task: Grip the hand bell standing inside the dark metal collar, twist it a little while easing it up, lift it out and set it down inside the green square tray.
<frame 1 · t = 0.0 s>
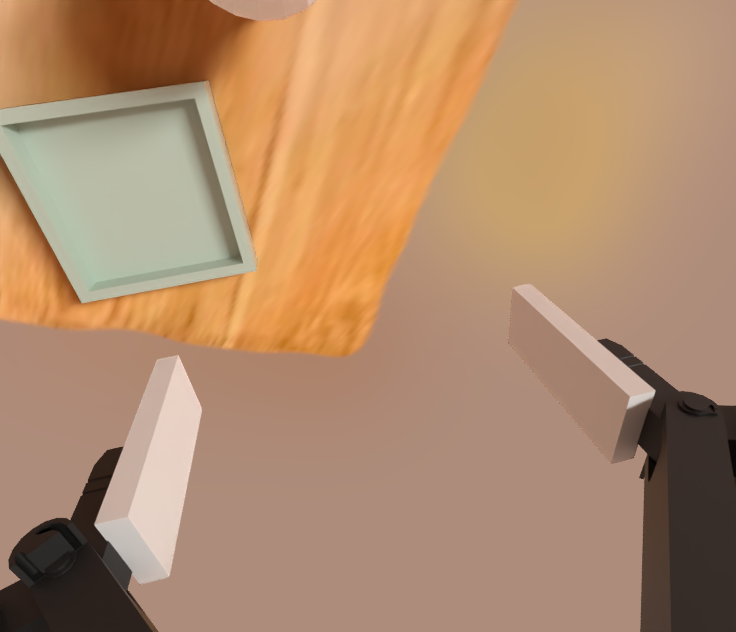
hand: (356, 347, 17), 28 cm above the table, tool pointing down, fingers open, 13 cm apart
green square tray: (145, 193, 38), on the table
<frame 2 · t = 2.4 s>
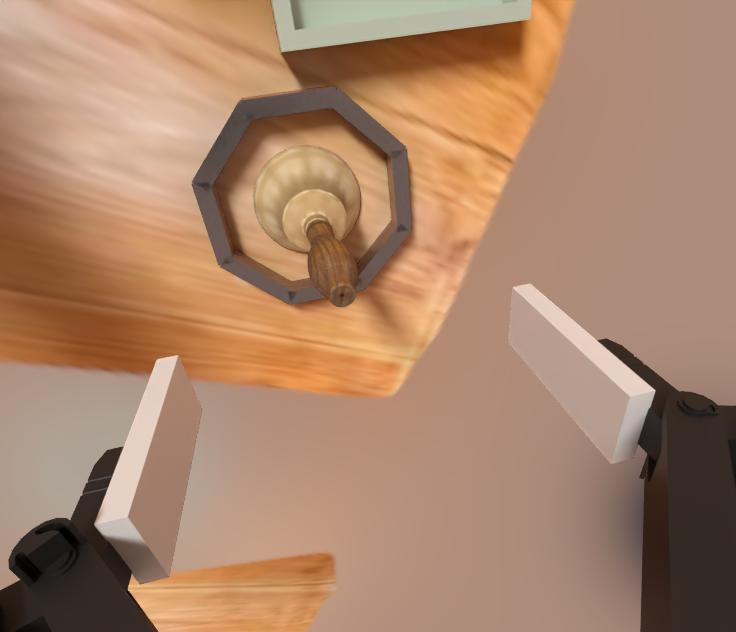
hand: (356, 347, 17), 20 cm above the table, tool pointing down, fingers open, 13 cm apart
collar: (308, 201, 33), on the table
hand bell: (308, 200, 34), resting in collar
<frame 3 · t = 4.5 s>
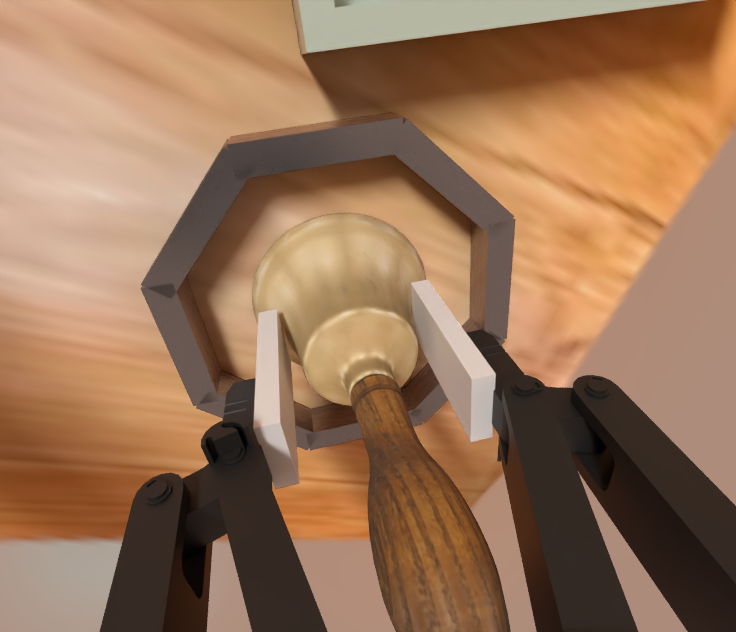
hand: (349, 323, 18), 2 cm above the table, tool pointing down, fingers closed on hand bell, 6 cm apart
collar: (341, 297, 20), on the table
hand bell: (341, 295, 21), resting in collar, touching gripper
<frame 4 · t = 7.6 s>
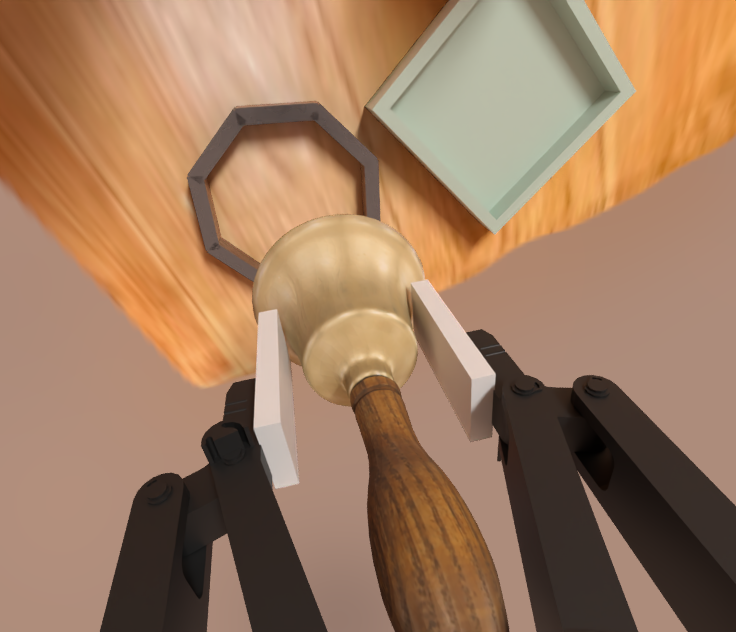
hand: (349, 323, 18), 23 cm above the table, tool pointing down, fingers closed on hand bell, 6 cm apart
green square tray: (493, 97, 37), on the table
collar: (290, 200, 38), on the table
hand bell: (341, 296, 21), point 20 cm above the table, touching gripper
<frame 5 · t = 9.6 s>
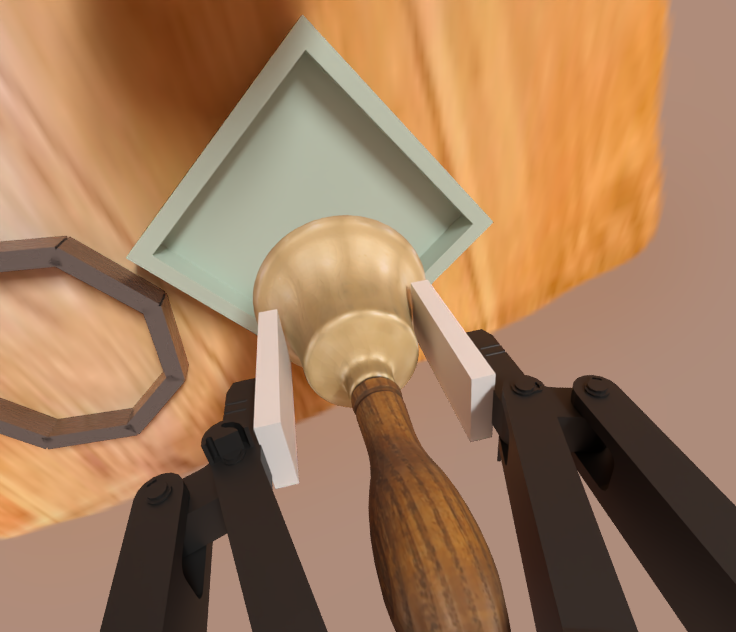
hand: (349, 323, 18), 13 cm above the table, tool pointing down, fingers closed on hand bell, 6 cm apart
green square tray: (317, 222, 29), on the table
collar: (61, 345, 30), on the table
hand bell: (341, 297, 21), point 10 cm above the table, touching gripper
when the fingers open (5 cm above the table, at t = 11.1 s): hand bell drops 1 cm, resting on green square tray.
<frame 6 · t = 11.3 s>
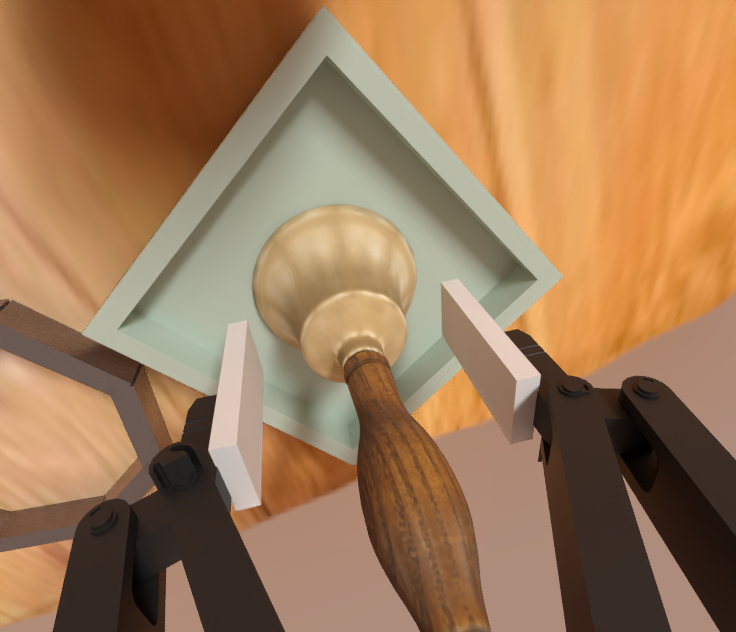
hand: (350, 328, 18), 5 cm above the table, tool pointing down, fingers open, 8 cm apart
green square tray: (335, 275, 22), on the table
collar: (10, 429, 23), on the table
hand bell: (336, 283, 22), point 1 cm above the table, touching green square tray
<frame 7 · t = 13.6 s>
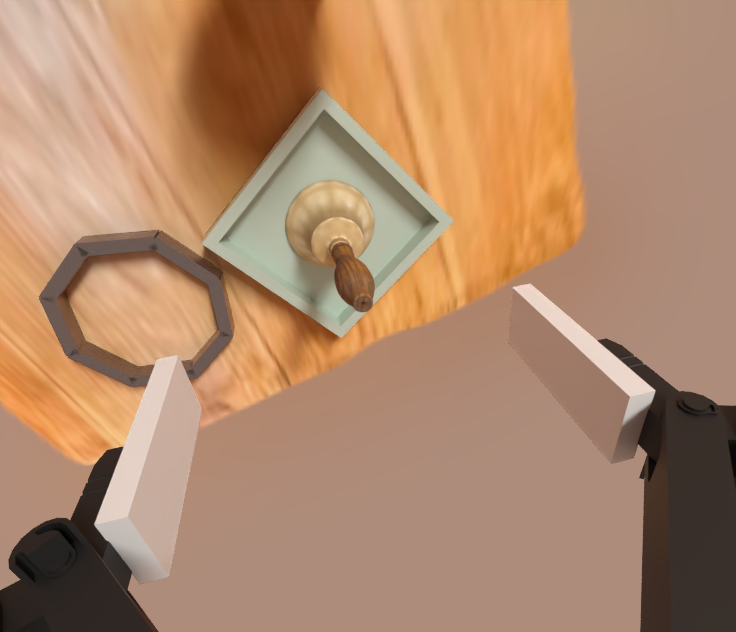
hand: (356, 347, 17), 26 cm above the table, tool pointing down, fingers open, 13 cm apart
green square tray: (329, 221, 41), on the table
collar: (147, 309, 42), on the table
hand bell: (330, 224, 40), point 1 cm above the table, touching green square tray
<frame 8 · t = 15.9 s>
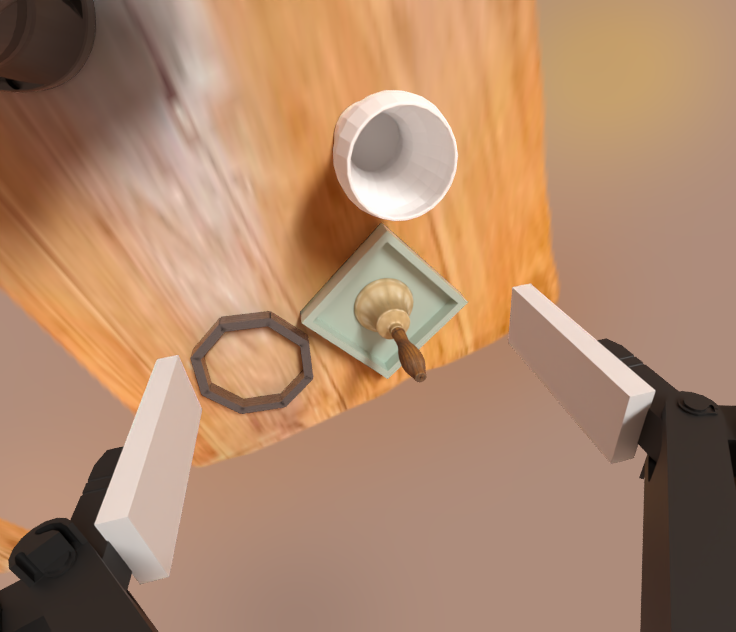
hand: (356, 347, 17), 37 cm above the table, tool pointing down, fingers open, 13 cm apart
cup: (367, 137, 48), on the table
green square tray: (382, 301, 59), on the table
collar: (255, 361, 60), on the table
hand bell: (383, 304, 58), point 1 cm above the table, touching green square tray
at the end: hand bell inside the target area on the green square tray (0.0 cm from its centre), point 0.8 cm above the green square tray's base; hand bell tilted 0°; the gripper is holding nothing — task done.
